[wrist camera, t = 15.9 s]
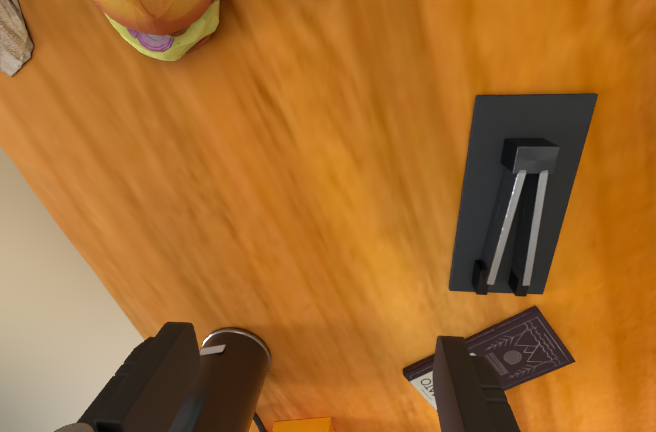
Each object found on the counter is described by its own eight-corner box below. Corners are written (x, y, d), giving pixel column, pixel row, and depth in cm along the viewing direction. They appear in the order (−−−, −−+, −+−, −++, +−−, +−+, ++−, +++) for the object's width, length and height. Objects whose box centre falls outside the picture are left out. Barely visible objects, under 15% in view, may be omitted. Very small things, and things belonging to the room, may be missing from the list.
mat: (540, 291, 40) (542, 294, 39) (448, 287, 41) (449, 291, 40) (594, 93, 31) (598, 94, 31) (475, 95, 32) (477, 95, 32)
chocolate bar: (575, 361, 42) (441, 416, 48) (571, 355, 43) (440, 409, 49) (539, 311, 40) (403, 375, 46) (536, 306, 41) (402, 369, 46)
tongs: (495, 138, 33) (507, 146, 30) (552, 138, 32) (571, 146, 30) (470, 282, 40) (479, 300, 37) (518, 284, 39) (530, 302, 36)
